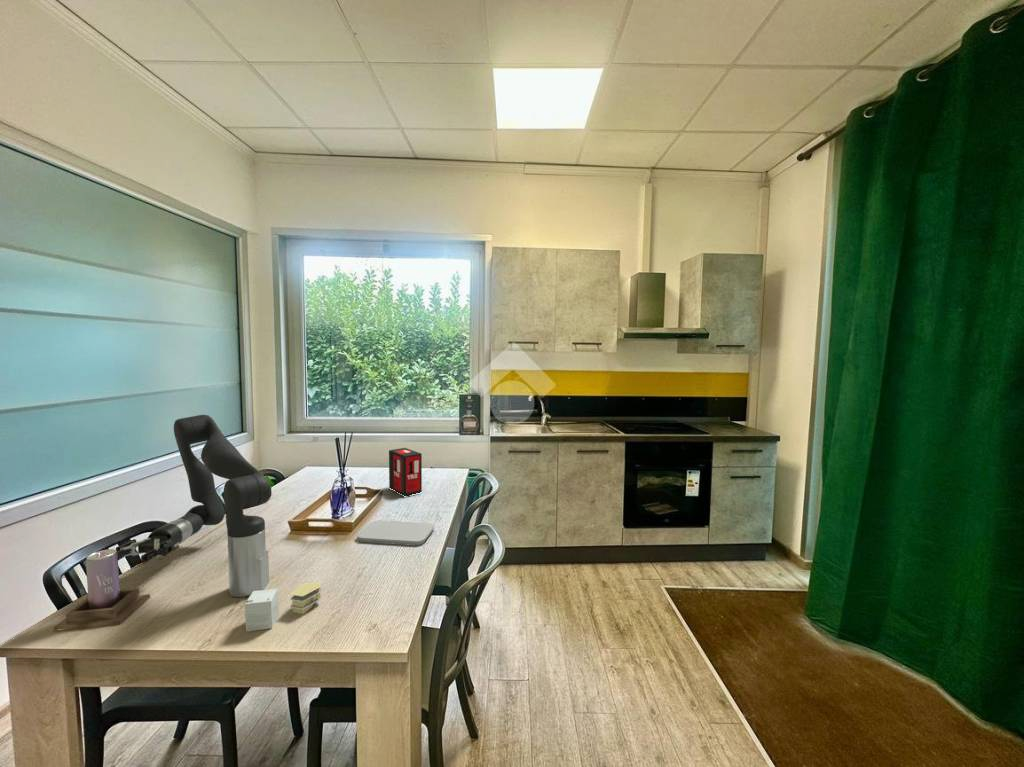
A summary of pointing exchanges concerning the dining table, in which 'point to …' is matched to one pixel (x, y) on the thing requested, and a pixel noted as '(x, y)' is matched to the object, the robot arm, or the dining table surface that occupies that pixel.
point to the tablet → (395, 532)
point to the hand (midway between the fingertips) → (126, 559)
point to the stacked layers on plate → (305, 597)
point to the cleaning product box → (405, 471)
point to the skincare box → (261, 610)
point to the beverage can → (103, 579)
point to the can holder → (103, 612)
